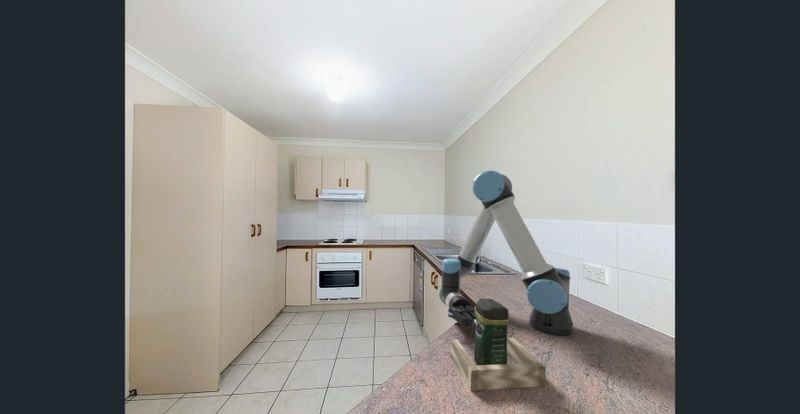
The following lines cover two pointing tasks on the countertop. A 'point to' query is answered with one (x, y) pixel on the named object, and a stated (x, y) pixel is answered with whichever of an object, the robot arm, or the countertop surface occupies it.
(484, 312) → the coffee jar
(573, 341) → the countertop surface
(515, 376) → the u-shaped wooden molding
